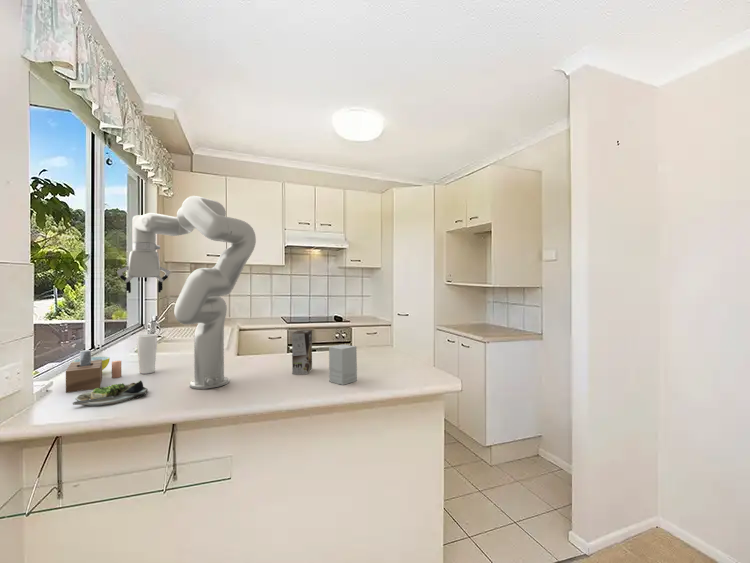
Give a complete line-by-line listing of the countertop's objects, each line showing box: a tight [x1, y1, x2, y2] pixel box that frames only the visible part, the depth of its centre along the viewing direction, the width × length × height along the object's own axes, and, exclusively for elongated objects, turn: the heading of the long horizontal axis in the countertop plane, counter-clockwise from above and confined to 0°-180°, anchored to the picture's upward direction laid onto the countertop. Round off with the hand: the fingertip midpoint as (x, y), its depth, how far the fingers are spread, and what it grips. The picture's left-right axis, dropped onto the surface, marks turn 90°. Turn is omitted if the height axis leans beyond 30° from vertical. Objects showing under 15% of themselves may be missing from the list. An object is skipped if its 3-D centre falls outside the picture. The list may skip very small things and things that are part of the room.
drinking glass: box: [136, 333, 158, 375], centre depth 144 cm, size 7×7×15 cm
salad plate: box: [72, 380, 149, 407], centre depth 112 cm, size 19×18×5 cm
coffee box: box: [291, 329, 313, 375], centre depth 144 cm, size 9×6×16 cm
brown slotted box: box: [65, 359, 103, 393], centre depth 128 cm, size 16×9×7 cm, turn 35°
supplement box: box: [328, 344, 358, 386], centre depth 130 cm, size 7×7×13 cm
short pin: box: [111, 360, 122, 379], centre depth 138 cm, size 3×3×6 cm
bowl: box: [72, 356, 111, 371], centre depth 141 cm, size 11×12×6 cm
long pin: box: [79, 349, 92, 367], centre depth 128 cm, size 3×3×12 cm
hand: (144, 292), depth 138 cm, fingers open, 9 cm apart
